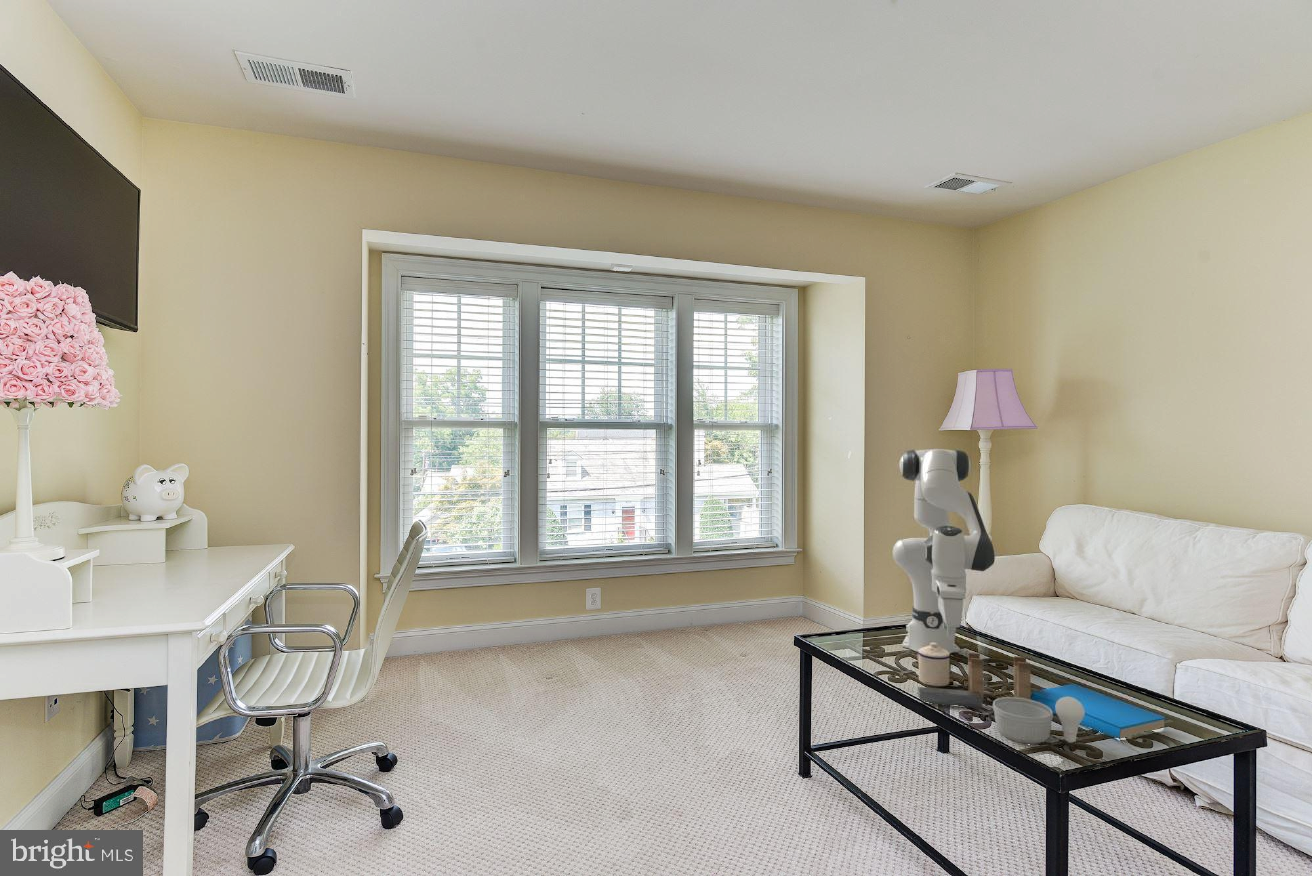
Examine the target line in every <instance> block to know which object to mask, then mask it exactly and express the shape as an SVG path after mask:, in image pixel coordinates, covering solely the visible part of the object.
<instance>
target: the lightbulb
mask: <svg viewBox="0 0 1312 876" xmlns="http://www.w3.org/2000/svg"><path fill="white" fill-rule="evenodd" d="M1055 710H1056V713H1057V715H1056V716H1057V717H1058V719H1059V721H1060V723H1061V726H1062V727H1061V728H1062V729H1061V730H1062V731H1063V739H1064V740H1065V741H1066V743H1069V744H1073V743H1075V742H1077V734H1078V731H1079V726H1080V722H1081V721H1082V719H1083V718H1084V715H1085V711H1084V707H1083V706H1082V704H1081V703H1080V702H1079V701H1078V700H1077V699H1075V698H1072V697H1062V698H1060V699H1059V700H1058V701H1057V702H1056V705H1055Z"/></svg>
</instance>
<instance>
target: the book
mask: <svg viewBox="0 0 1312 876" xmlns="http://www.w3.org/2000/svg"><path fill="white" fill-rule="evenodd" d="M1062 697H1072V698H1075V699H1077V700H1078V701H1079V702H1080V703H1081V704H1082V706H1083V707H1084V711H1085V715H1084V718H1083V719H1082V721H1081V722H1080V724H1079V726H1082V725H1083V726H1082V727H1085V726H1086V727H1085V728H1087V727H1090V728H1092V729H1095V730H1097V731H1100V732H1101V733H1105V734H1108V735H1111V736H1113V737H1116V738H1119V739H1120V738H1124V737H1130V736H1132V735H1136V734H1138V733H1142V732H1144V731H1149V730H1153V729H1158V728H1160V727H1164V728H1165V720H1166V717H1165V716H1163V715H1160V714H1158V713H1155V712H1151V711H1149V710H1146V709H1143V708H1140V707H1138V706H1135V705H1132V704H1129V703H1127V702H1124V701H1121V700H1118V699H1116V698H1113V697H1110V696H1109V695H1108V696H1107V695H1105V694H1103V693H1100V692H1097V691H1095V690H1091V689H1090V688H1085V687H1083V686H1080V685H1078V684H1075V683H1071V684H1065V685H1060V686H1055V687H1054V686H1053V687H1049V688H1043V689H1039V690H1034V691H1031V700H1033V701H1036V702H1039V703H1042V704H1044V705H1046V706H1048V707H1049V708H1050V709H1051V710H1052V712H1053V715H1056V716H1058V715H1057V713H1056V710H1055V705H1056V702H1057V701H1058V700H1059V699H1060V698H1062ZM1092 729H1091V730H1092ZM1101 733H1100V734H1101Z"/></svg>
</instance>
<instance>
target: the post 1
mask: <svg viewBox="0 0 1312 876" xmlns="http://www.w3.org/2000/svg"><path fill="white" fill-rule="evenodd" d="M967 667H968V668H967V675H968V677H967V683H968V684H967V687H968V688H967V689H968V690H967V691H976V692H979V693H980V694H981V696H982V701H984V659H983V658H981V653H979V652H967Z"/></svg>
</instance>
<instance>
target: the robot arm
mask: <svg viewBox="0 0 1312 876" xmlns="http://www.w3.org/2000/svg"><path fill="white" fill-rule="evenodd" d="M971 468H972V467H971V460H970V458H969V455H968V453H967V452H965V451H963V450H961V449H960V450H958V449H954V450H951V449H943V448H933V449H917V450H915V449H910V450H905V451H904V452H903V453H902V455H901V457H900V460H899V470H900V474H901V476H902V477H903V478H904V479H905V480H907V481H911V482H914V481H915V483H914V484H915V485H914V494H913V495H914V496H913V498H914V503H913V506H914V507H913V517H914V520H915V522H916V523H917V524H918V525H919V526H921V527H923V528H925V529H927V530H928V532H929V537H909V538H908V537H907V538H905V539H899V540H897V541H896V543H894V545H893V548H892V558H893V560H894V562H895V564H896V565H897V566H898V567H900V569H902V570H903V571H904V573H906V574H907V576H908V578H909V579H910V581H911V585H912V591H913V592H912V593H913V595H912V596H913V607H912V609H911V614H912V619H911V621H910V622H909V623H908V624H906V625H905V627H906V628H905V631H906V632H908V633H906V636H905V638H904V640H903V642H902V643H901V644H902V645H901V647H902V648H906V649H910V650H912V651H914V652H917V653H918V650H919V649H920V648H923V647H927V646H930V644H931V643H937V646H938V647H940V648H942V649H944V650H946V651H948V652H949V654H950V655H951V654H952V653H959V652H961V648H960V646H958V645H957V644H956V643H955V639H956V632H957V628H961V625H962V619H963V609H964V608H963V607H964V600H965V599H966V594H967V572H966V570H971V571H977V572H985V571H986V570H988V569H990V567H992V566H993V565H994V563H995V559H996V551H995V547H994V544H993V542H992V541H991V538H990V536H989V534H988V532H987V530H986V527H985V524H984V522H983V518H982V516H981V513H980V509H979V507H978V505H977V503H976V501H975V497H974V496H973V494H972V493H971V492H969V491H967V490H966V489H965V488H964V487H963V486H962V484H960V483H961V482H962V481H964V480H965V479H967V478H968V477H969V474H970V471H971ZM949 511H950V512H952V513H955V514H957V515H958V516H961V518H963V519H964V521H965V523H966V527H967V530H968V533H969V535H965V534H964V531H963V530H962V529H961V528H959V527H956V526H952V525H951V522H950V517H949V516H950V515H949Z"/></svg>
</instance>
